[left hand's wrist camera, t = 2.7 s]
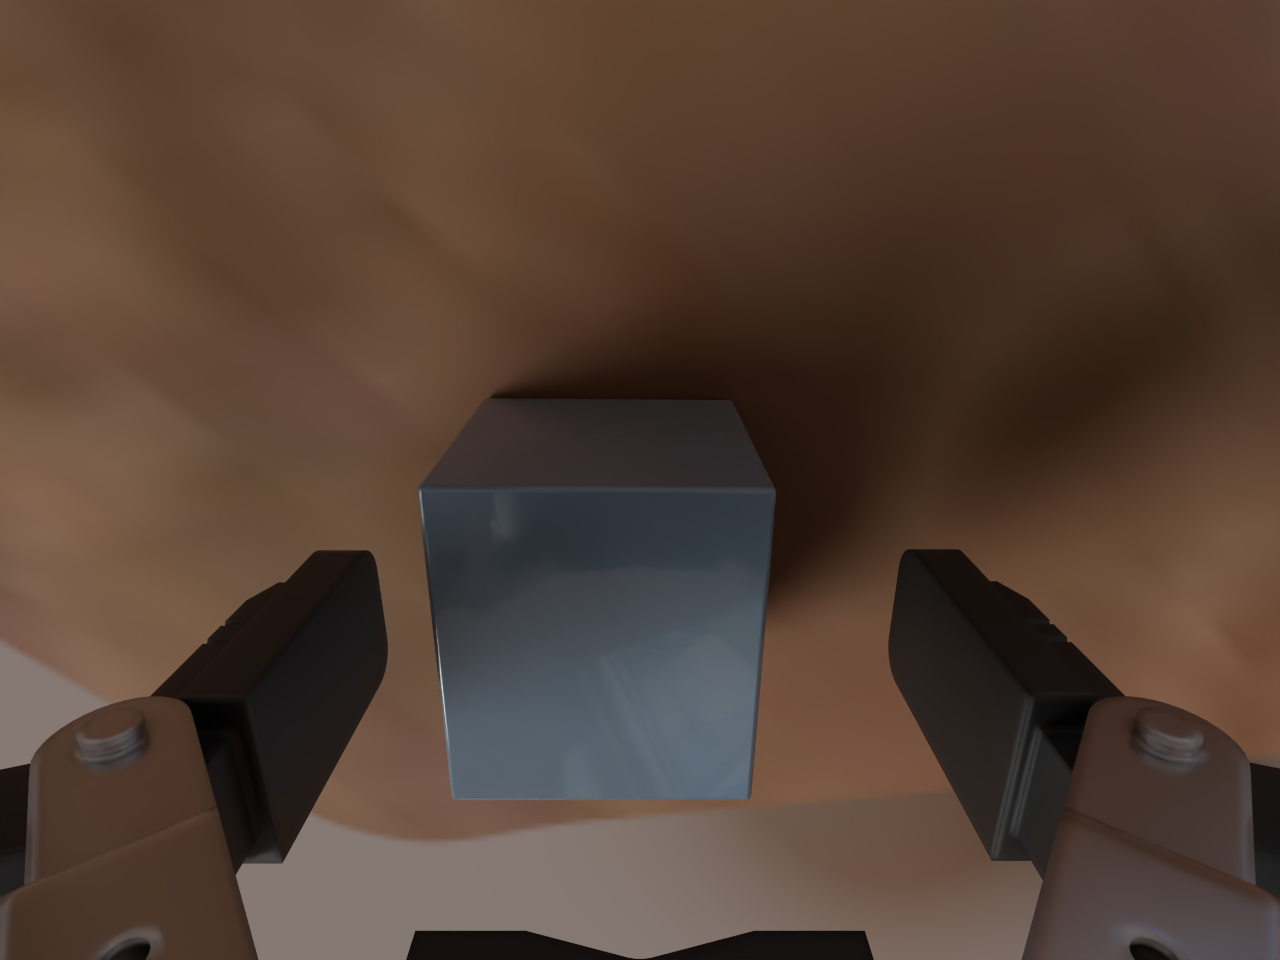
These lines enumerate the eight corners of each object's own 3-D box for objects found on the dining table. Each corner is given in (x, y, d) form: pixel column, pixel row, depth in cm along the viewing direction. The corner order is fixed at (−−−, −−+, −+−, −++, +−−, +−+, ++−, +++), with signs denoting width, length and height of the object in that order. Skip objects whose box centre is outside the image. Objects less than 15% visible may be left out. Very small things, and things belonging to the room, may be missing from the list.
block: (500, 637, 14) (450, 802, 10) (482, 396, 12) (415, 486, 8) (719, 638, 14) (751, 803, 10) (732, 398, 12) (779, 488, 9)
